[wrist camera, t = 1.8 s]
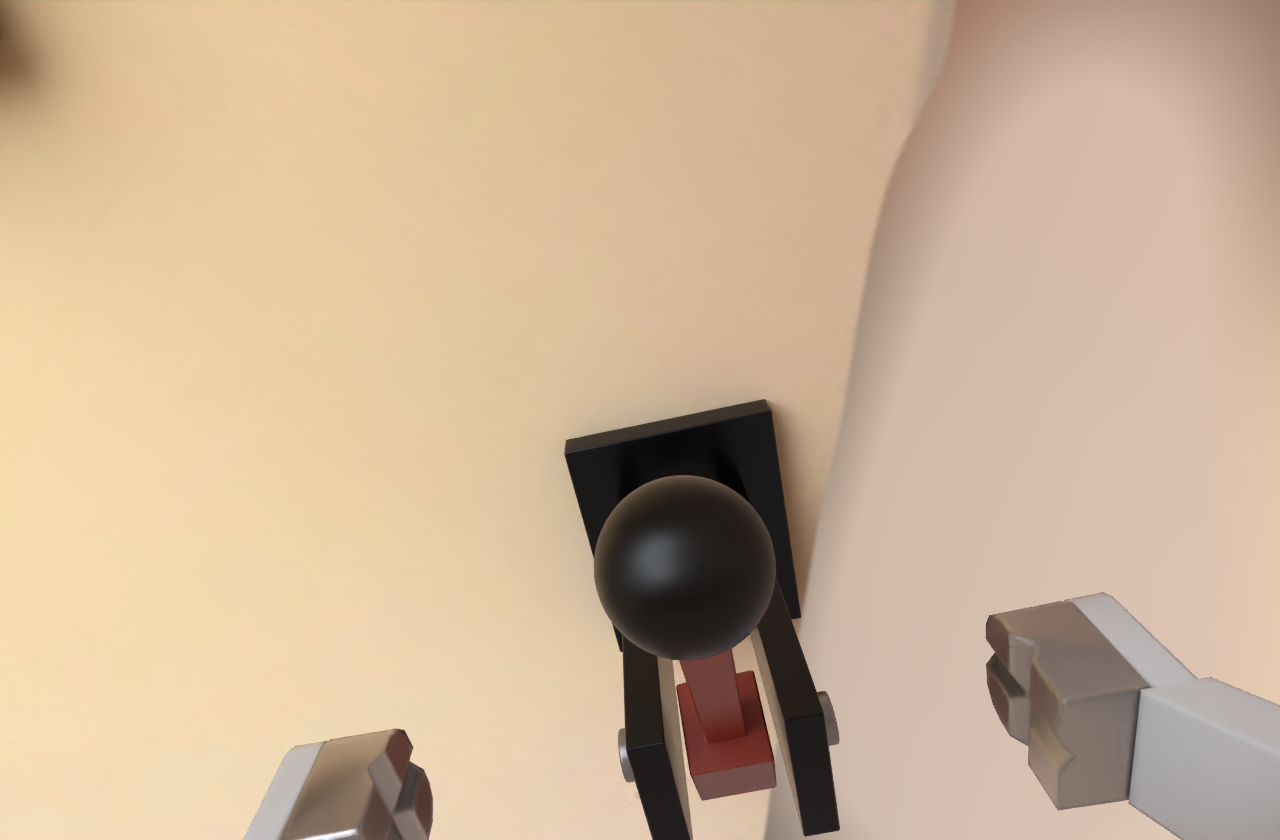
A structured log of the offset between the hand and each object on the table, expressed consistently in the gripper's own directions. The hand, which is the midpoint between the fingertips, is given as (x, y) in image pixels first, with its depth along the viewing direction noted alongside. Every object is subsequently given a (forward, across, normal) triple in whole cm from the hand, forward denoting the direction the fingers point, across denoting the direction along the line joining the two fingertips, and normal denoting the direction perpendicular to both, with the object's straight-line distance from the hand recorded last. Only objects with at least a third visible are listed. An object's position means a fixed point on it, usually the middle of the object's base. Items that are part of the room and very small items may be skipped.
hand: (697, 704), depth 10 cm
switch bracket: (+18, 0, +9) cm, 20 cm away
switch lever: (+7, 0, +4) cm, 8 cm away
